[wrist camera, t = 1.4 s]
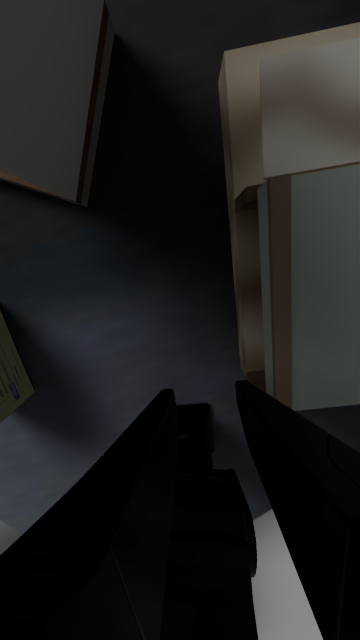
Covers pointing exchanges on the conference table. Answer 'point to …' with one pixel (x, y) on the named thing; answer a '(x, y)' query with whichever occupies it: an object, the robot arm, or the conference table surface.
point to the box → (11, 375)
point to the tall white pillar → (52, 93)
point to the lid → (311, 287)
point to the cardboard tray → (281, 144)
